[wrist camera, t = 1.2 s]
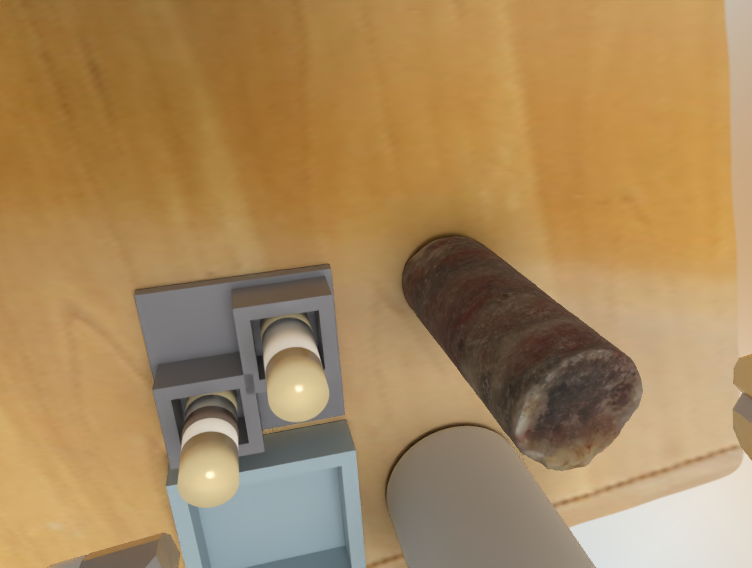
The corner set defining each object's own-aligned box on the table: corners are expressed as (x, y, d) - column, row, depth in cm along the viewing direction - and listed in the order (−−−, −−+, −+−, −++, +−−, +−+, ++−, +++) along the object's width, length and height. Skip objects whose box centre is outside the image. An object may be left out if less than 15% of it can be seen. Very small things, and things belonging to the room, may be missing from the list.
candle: (467, 210, 46) (621, 324, 28) (509, 282, 50) (672, 426, 31) (383, 268, 47) (483, 418, 29) (430, 336, 50) (547, 510, 32)
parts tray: (201, 582, 54) (199, 623, 50) (170, 451, 48) (166, 486, 45) (358, 547, 56) (367, 583, 53) (346, 419, 51) (355, 450, 47)
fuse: (263, 349, 46) (272, 427, 37) (256, 305, 44) (264, 374, 35) (311, 341, 46) (331, 416, 37) (306, 297, 45) (326, 364, 36)
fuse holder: (170, 438, 48) (165, 476, 44) (136, 290, 43) (126, 316, 39) (342, 407, 50) (352, 441, 46) (328, 264, 46) (338, 286, 41)
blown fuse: (191, 420, 47) (182, 513, 38) (182, 378, 45) (171, 464, 36) (240, 411, 47) (244, 501, 38) (233, 370, 46) (235, 453, 37)
